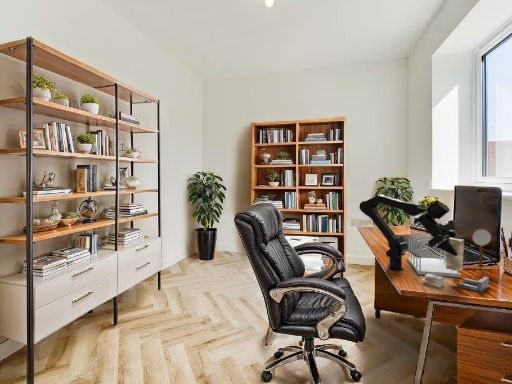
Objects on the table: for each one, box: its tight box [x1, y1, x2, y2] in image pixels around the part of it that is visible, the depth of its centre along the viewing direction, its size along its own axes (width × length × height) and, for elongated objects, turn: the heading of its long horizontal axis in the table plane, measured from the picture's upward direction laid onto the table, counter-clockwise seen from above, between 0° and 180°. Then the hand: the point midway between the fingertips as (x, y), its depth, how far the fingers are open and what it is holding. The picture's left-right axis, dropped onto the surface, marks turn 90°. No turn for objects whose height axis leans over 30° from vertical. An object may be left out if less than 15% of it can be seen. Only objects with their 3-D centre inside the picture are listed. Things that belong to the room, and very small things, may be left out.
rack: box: [456, 276, 490, 293], centre depth 124 cm, size 8×9×4 cm
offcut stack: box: [421, 274, 446, 288], centre depth 129 cm, size 7×5×4 cm
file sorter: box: [406, 232, 462, 278], centre depth 149 cm, size 25×17×16 cm
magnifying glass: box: [470, 227, 493, 269], centre depth 146 cm, size 9×2×20 cm, turn 76°
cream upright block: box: [445, 237, 465, 272], centre depth 129 cm, size 5×4×13 cm
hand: (458, 254), depth 128 cm, fingers closed on cream upright block, 4 cm apart
